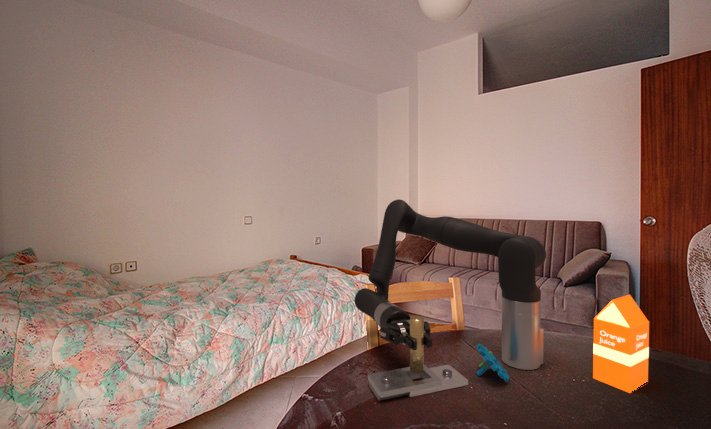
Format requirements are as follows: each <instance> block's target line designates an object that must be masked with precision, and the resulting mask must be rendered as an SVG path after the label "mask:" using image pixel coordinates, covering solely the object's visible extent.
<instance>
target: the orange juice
mask: <svg viewBox="0 0 711 429" xmlns="http://www.w3.org/2000/svg"><path fill="white" fill-rule="evenodd" d="M649 344H650V321H649V320H648V319H647V317H646V315H645V314H644V313H643V311H642V310H641V308H640V307H639V305H638V304H637V302H636V301H635V299H634V298H633V297H632V295H631V294H626V295H624V296H620V297H618V298H614V299H612V300H611V301H609V303H608V304H607V305H606V306H604V307H603V309H602V310H601V311H600V312H599V313H597V315H596V316H595V317H594V318H593V344H592V346H593V347H592V354H593V357H592V378H593V380H597V381H598V382H601V383H604V384H607V385H608V386H611V387H613V388H616V389H619V390H621V391H623V392H626V393H628V394H632V393H633V392H634V390H635V391H637V390H638V389H639V388H638V387H640V386H641V385H643V384H644V383H646V382H648V383H649V356H650V345H649ZM643 386H644V385H643ZM641 387H642V386H641ZM641 387H640V388H641ZM637 388H638V389H637ZM632 391H633V392H632Z"/></svg>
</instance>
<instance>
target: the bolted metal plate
mask: <svg viewBox="0 0 711 429" xmlns="http://www.w3.org/2000/svg"><path fill="white" fill-rule="evenodd" d="M419 379H420V380H419ZM367 380H368V387H369V388H370V390H371V392H373V394H374V396H375V397H376V399H377V400H378V402H379V401H384V400H389V399H395V398H398V397H403V396H408V397H409V398H413V397H417V396H422V395H427V394H428V395H429V394H432V393H436V392H440V391H441V392H442V391H446V390H451V389H455V388H461V387H465V386H469V379H467V378H466V376H464V375H462V374H461V373H460V372H459V371H458V370H456V369H455V368H454V367H453V366H451V365H450V364H444V365H439V366H433V367H428V366H427V365H426V364H424V371H423V372H420V373H416V372H413V371H411V370H410V366H407V367H402V368H395V369H389V370H385V371H384V370H383V371H380V372H374V373H373V372H372V373H368V374H367ZM414 380H415V381H414Z"/></svg>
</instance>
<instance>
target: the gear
mask: <svg viewBox="0 0 711 429" xmlns="http://www.w3.org/2000/svg"><path fill="white" fill-rule="evenodd" d="M475 347H476V349H477V352H478V353H479V355H481V356H482V359H483V361H482V362H481V363H480V364H479V365H478V367H479V368H480V369H479V370H478V371H476V375H477V376H478V377H480V376H482V375H483V374H484V373H485V372H487V371H488V370H492V371H493V372H495V371H496V373H497V375H498V377H500V379H503V380H504V382H508V381H510V378H511V377H510V375H509V374H508V371H507V370H506V369H505V368H504V366H503V364H502V363H501V362H500V361H499V360H498V359H497V358H496V356H495V355H494V353H493V352H492V351H491V350H488V348H487V347H486V346H484V345H483V344H481V343H478V344H477V345H476V346H475Z"/></svg>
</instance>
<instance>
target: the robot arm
mask: <svg viewBox="0 0 711 429" xmlns="http://www.w3.org/2000/svg"><path fill="white" fill-rule="evenodd" d="M399 232H400V233H403V234H406V235H413V236H416V237H417V236H418V237H422V238H425V239H427V240H429V241H431V242H435V243H437V244H439V245H442V246H445V247H447V248H451V249H452V250H453V249H454V250H457V251H460V252H465V253H473V254H483V255H488V256H493V257H496V258H498V259H497V263H498V264H497V266H498V267H497V268H498V270H497V272H498V284H499V287H500V290H501V361H502V362H503V363H505V365H507V366H509V367H512V368H515V369H518V370H525V371H527V370H528V371H531V370H536V369H539V368H540V367H541V365H543V364H544V327H542V325H541V324H542V322H541V321H542V320H541V306H542V305H541V304H542V302H541V300H542V296H541V295H542V291H541V289H540V288H539V286H537V282H536V281H537V280H536V277H537V276H536V269H538V268H539V267H541V266H542V265H543V264H544V263H545V261H546V259H547V251H546V249H545V247H544V245H543V243H541V242H540V241H539V240H538V239H536V238H535V237H532V236H529V235H528V236H527V235H520V234H514V233H508V232H503V231H499V230H495V229H492V228H489V227H486V226H484V225H480V224H477V223H473V222H471V221H468V220H464V219H461V218H457V217H453V216H446V215H444V216H439V217H438V216H437V217H429V216H426V215H422V214H420V213H418V212H416V210H414V209H413V208H412V207H411V206H410V205H409V203H408V202H406V201H405V200H403V199H395V200H393V201H391V202H390V203H389V204H388V205H387V206H386V209H385V212H384V215H383V221H382V227H381V231H380V236H379V242H378V247H377V250H376V253H375V258H374V259H373V262H372V264H371V265H372V266H371V268H370V271H369V274H368V281H369V282H370V283H371V284H373V285H374V286H375V288H376V291H374V290H372V289H370V288H366V287H364V288H361V289H358V291H357V292H356V293H355V296H354V305H355V307H356V308H357V310H359V311H360V312H361V313H363V314H365V315H366V316H369V317H370V318H371V319H372V320H373V321H374V322H375V323H376V324H377V326H378V327H379V338H380V339H382V340H383V341H386V342H388V343H391V344H393V345H397V346H399V345H400V344H402V345H403V346H407V348H408V349H410V348H411V349H412V350H417V341H416V340H415V339H414V338H413V337H411V336H410V318H411V316H410V314H409V313H408V312H407V311H404V309H402V308H401V307H399V306H398V305H396V304H394V303H392V302H391V301H389V292H390V291H389V289H390V282H391V278H392V275H393V272H394V269H395V265H396V259H397V257H396V255H397V253H396V252H397V236H398V233H399ZM432 346H433V337H431V327H430V323H429V321H427V320H426V321H425V320H424V347H426V348H427V349H430V348H433V347H432Z"/></svg>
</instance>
